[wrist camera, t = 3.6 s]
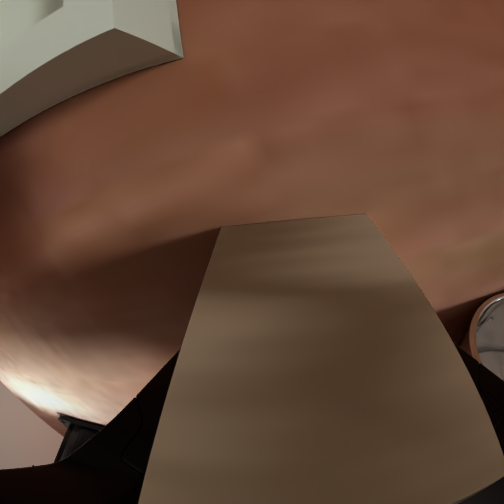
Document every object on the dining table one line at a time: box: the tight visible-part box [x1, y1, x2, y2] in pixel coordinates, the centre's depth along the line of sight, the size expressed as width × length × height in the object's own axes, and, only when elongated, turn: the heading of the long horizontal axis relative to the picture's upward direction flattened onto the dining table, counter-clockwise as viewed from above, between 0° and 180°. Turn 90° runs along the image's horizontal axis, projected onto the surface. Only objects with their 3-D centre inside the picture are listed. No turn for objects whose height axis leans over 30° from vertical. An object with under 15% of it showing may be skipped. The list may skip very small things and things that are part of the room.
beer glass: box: [459, 293, 504, 380], centre depth 10 cm, size 7×7×15 cm
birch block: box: [138, 214, 504, 504], centre depth 6 cm, size 4×4×8 cm
